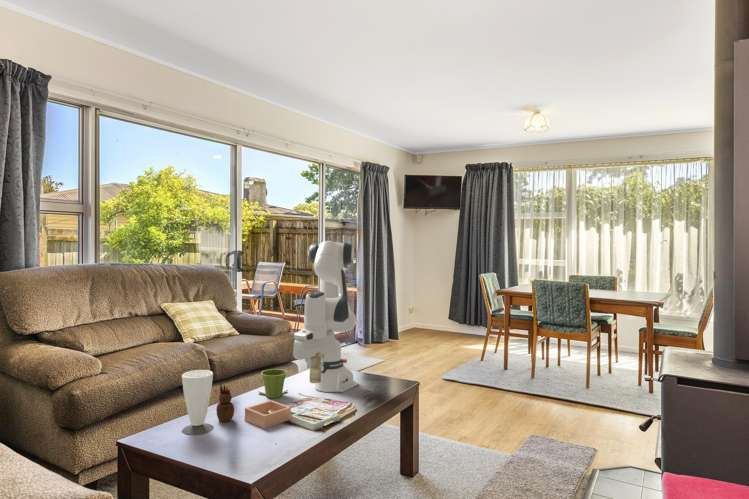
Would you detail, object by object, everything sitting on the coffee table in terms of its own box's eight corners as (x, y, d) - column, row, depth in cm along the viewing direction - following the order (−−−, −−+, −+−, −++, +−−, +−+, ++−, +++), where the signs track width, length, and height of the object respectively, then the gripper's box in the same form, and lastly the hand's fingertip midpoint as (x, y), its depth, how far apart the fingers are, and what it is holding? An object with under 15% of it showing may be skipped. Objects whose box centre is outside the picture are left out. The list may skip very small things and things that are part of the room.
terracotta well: (271, 411, 210) (271, 400, 210) (290, 419, 202) (290, 407, 202) (244, 420, 201) (244, 408, 201) (264, 428, 192) (264, 416, 192)
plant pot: (292, 395, 232) (292, 371, 231) (271, 402, 223) (272, 377, 222) (275, 390, 239) (276, 367, 239) (255, 396, 230) (255, 372, 230)
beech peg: (315, 379, 203) (315, 350, 203) (323, 381, 200) (323, 352, 200) (307, 381, 200) (307, 352, 199) (314, 384, 197) (315, 353, 196)
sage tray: (316, 412, 210) (316, 406, 210) (339, 420, 201) (339, 414, 201) (290, 421, 200) (290, 415, 200) (313, 430, 191) (313, 424, 191)
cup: (175, 432, 188) (174, 375, 187) (196, 421, 199) (196, 368, 198) (199, 437, 184) (199, 379, 183) (219, 426, 194) (219, 371, 194)
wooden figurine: (213, 422, 199) (213, 384, 198) (222, 417, 204) (222, 380, 204) (227, 424, 196) (227, 386, 196) (236, 419, 202) (236, 382, 201)
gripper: (328, 327, 209) (328, 360, 210) (290, 334, 194) (290, 370, 194) (339, 329, 205) (339, 363, 206) (301, 337, 190) (301, 373, 190)
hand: (315, 366), depth 200 cm, fingers closed on beech peg, 4 cm apart
